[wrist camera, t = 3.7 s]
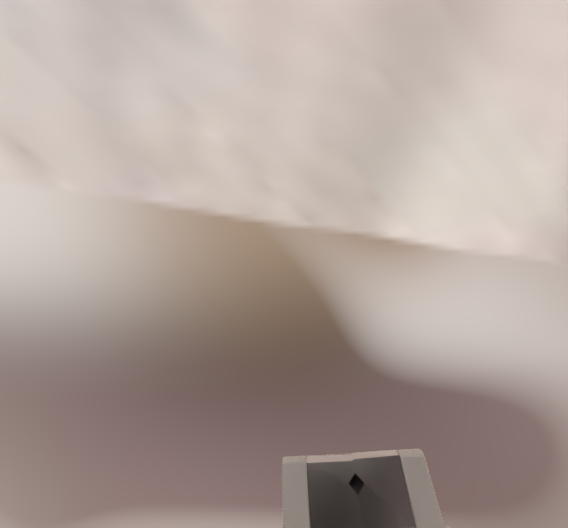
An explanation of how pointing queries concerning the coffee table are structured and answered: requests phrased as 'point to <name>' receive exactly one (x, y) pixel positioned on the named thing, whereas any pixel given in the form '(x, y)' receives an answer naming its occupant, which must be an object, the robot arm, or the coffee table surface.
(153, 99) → the coffee table surface
